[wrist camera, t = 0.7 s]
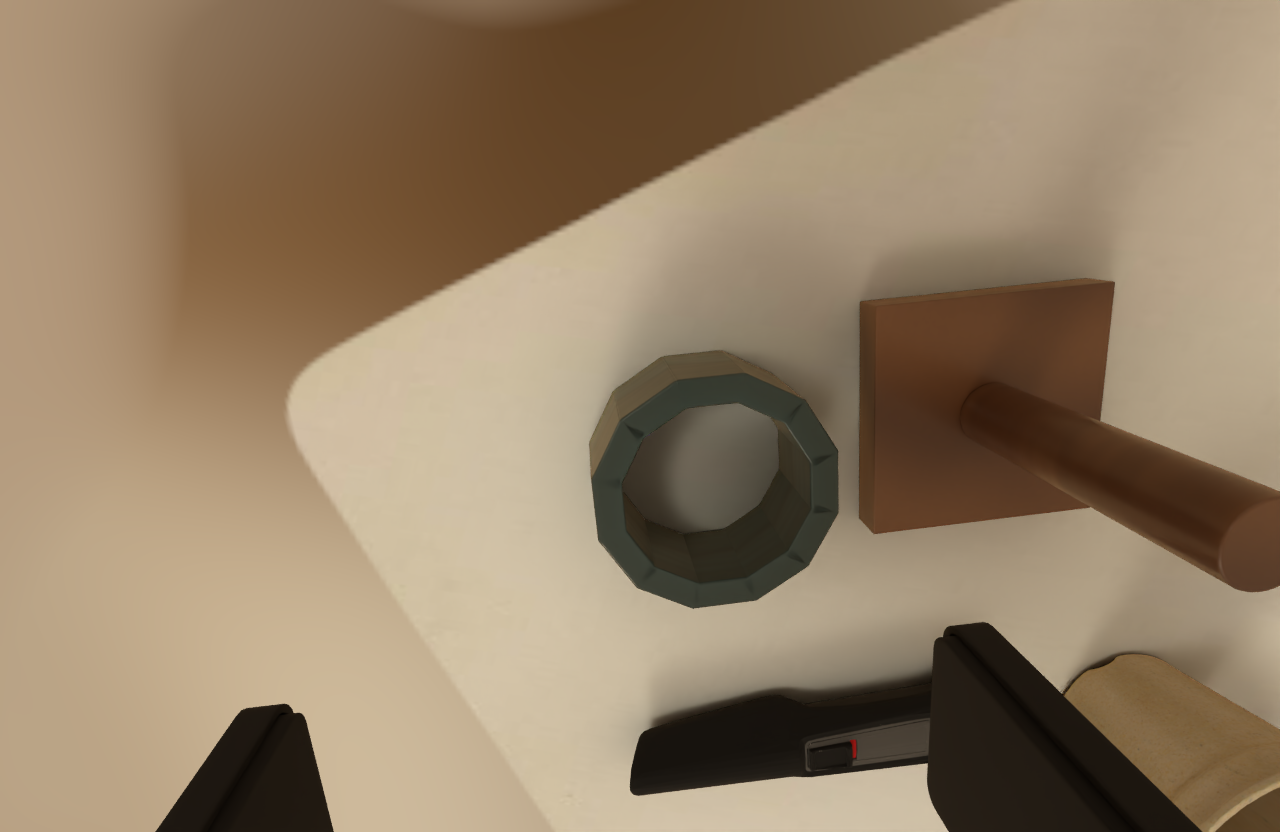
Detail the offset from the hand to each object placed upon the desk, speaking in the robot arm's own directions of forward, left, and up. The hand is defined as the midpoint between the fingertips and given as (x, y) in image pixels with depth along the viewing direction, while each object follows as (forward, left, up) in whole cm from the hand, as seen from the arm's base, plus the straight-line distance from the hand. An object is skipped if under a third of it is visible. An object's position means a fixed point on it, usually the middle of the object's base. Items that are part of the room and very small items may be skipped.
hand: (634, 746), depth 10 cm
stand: (+1, +15, -17) cm, 22 cm away
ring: (+2, +4, -17) cm, 17 cm away
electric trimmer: (+15, +8, -17) cm, 24 cm away
